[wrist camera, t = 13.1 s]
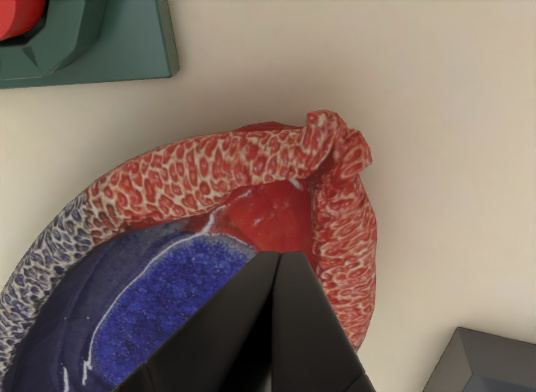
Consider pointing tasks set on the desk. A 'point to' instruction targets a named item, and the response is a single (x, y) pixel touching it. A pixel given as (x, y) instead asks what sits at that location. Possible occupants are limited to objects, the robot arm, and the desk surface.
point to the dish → (185, 248)
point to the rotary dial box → (484, 365)
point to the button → (19, 16)
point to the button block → (91, 44)
